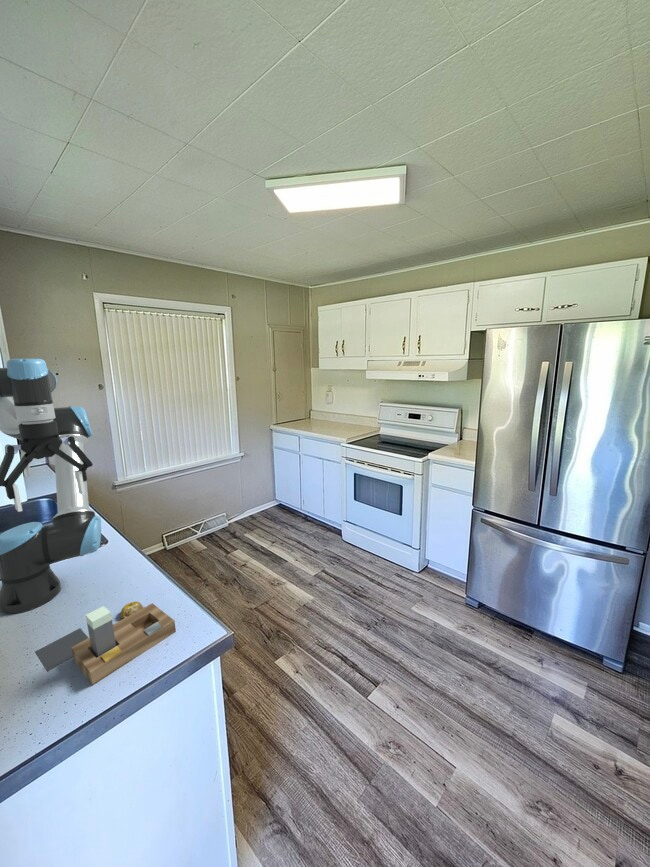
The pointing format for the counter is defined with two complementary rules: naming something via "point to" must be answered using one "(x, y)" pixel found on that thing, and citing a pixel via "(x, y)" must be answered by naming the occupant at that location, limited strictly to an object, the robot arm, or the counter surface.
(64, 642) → the mat
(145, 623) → the socket block
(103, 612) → the plug
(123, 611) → the fruit
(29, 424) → the robot arm
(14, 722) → the counter surface
